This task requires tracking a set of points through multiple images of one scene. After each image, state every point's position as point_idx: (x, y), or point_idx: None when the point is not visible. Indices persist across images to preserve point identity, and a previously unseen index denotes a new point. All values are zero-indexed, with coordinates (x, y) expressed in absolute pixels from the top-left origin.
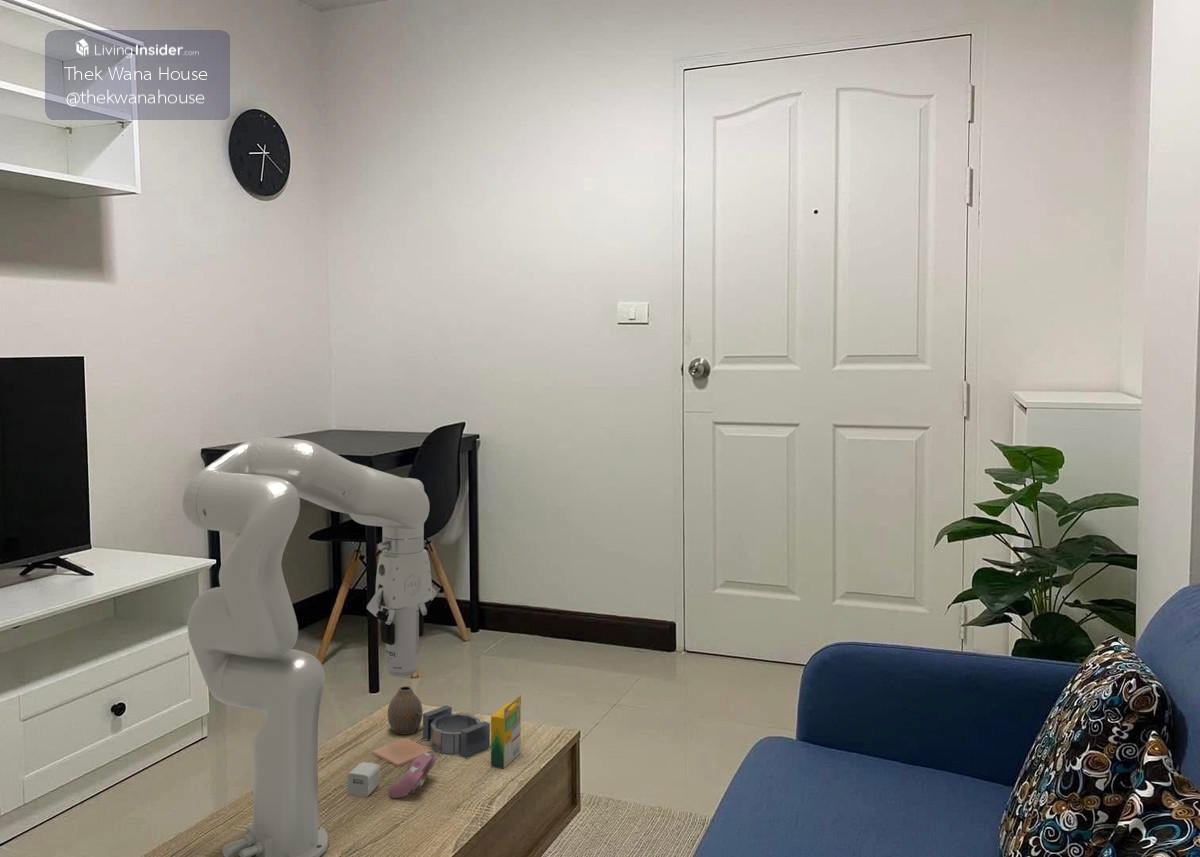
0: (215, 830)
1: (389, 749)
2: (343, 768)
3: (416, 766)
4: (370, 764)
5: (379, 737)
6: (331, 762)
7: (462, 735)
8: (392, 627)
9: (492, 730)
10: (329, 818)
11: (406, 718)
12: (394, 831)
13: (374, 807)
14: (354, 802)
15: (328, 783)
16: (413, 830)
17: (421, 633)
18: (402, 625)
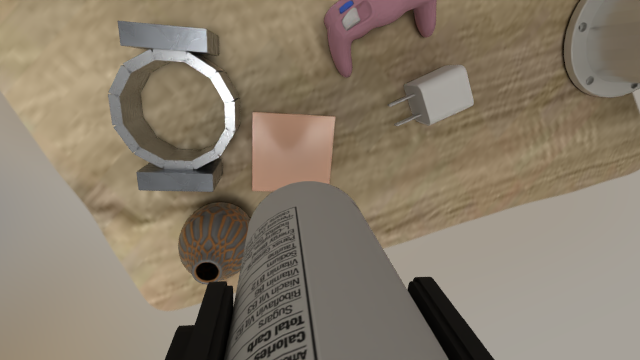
0: (609, 157)
1: (304, 174)
2: (392, 180)
3: None
4: (429, 100)
5: None
6: (389, 210)
7: (209, 46)
8: (489, 354)
9: None
10: (523, 59)
11: (237, 214)
12: None
13: (463, 27)
14: (467, 70)
15: (441, 156)
16: None
17: (223, 289)
18: (429, 342)
